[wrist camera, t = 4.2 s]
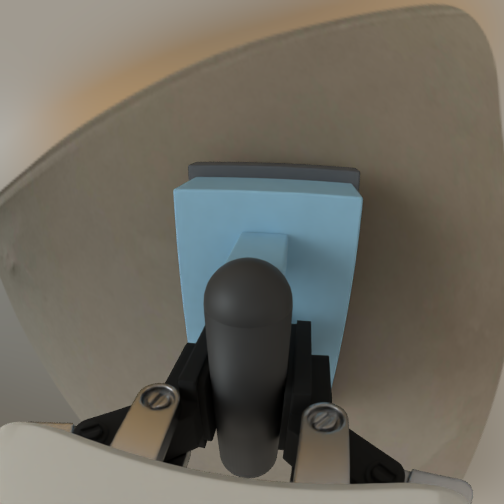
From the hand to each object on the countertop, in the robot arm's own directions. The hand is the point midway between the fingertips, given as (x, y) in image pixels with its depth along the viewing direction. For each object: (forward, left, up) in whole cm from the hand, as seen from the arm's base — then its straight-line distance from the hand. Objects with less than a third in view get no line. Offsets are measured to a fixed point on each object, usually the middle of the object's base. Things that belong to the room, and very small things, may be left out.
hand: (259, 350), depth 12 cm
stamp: (0, 0, -4) cm, 4 cm away
